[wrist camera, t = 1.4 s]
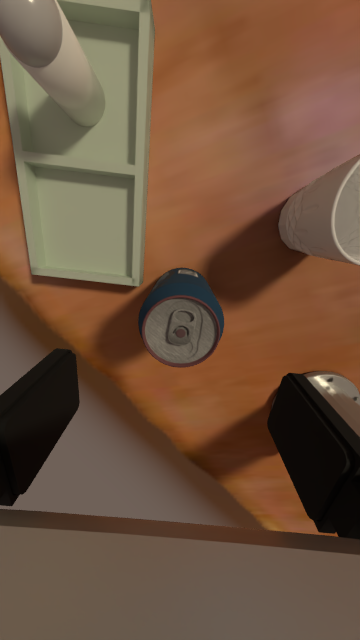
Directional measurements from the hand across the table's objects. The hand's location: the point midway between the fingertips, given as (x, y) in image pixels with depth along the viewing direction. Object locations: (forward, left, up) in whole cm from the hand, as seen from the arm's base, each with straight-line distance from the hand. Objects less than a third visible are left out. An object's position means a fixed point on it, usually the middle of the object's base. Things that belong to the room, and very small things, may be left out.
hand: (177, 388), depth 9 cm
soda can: (0, 0, -18) cm, 18 cm away
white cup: (+10, -13, -18) cm, 25 cm away
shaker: (+17, +11, -17) cm, 27 cm away
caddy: (+12, +11, -18) cm, 24 cm away
